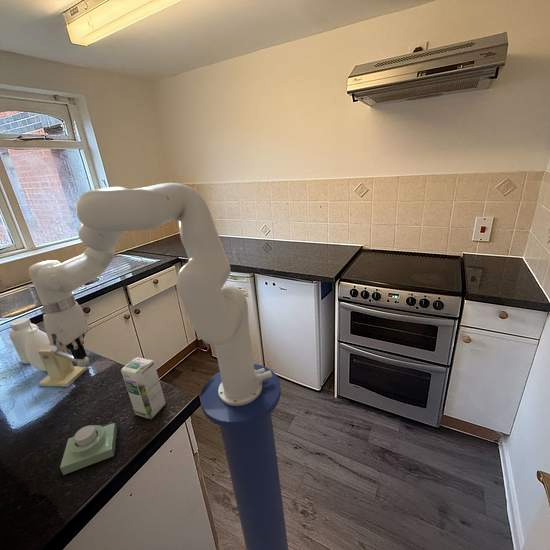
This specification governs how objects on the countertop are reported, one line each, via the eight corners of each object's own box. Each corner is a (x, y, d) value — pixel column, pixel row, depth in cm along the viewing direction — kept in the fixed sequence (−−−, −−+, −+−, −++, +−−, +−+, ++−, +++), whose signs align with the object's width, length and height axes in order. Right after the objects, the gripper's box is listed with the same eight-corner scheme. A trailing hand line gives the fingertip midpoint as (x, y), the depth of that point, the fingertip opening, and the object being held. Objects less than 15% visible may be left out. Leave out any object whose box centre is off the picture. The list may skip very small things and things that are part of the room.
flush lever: (91, 364, 94) (91, 356, 92) (84, 370, 91) (84, 362, 89) (53, 350, 94) (53, 342, 93) (44, 357, 91) (44, 348, 90)
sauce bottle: (29, 376, 98) (6, 328, 91) (49, 361, 105) (29, 316, 98) (49, 377, 96) (27, 329, 90) (68, 361, 103) (49, 316, 97)
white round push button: (98, 429, 70) (95, 422, 69) (95, 442, 67) (92, 436, 66) (79, 435, 69) (76, 429, 68) (75, 450, 65) (72, 443, 65)
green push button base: (117, 429, 74) (112, 417, 73) (114, 456, 67) (109, 443, 66) (71, 445, 71) (65, 432, 69) (63, 475, 64) (56, 462, 62)
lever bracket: (87, 369, 98) (75, 339, 94) (67, 386, 91) (53, 354, 87) (61, 368, 100) (48, 338, 96) (40, 385, 93) (25, 354, 88)
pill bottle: (45, 359, 106) (29, 323, 100) (18, 367, 103) (0, 329, 98) (51, 348, 113) (36, 313, 107) (26, 354, 110) (9, 319, 105)
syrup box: (134, 415, 78) (118, 370, 73) (150, 398, 83) (137, 355, 78) (151, 420, 76) (136, 374, 70) (167, 403, 81) (154, 359, 75)
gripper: (68, 292, 92) (87, 343, 98) (24, 317, 78) (49, 373, 85) (90, 292, 91) (107, 343, 97) (48, 317, 77) (72, 374, 84)
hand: (80, 357), depth 91 cm, fingers closed
